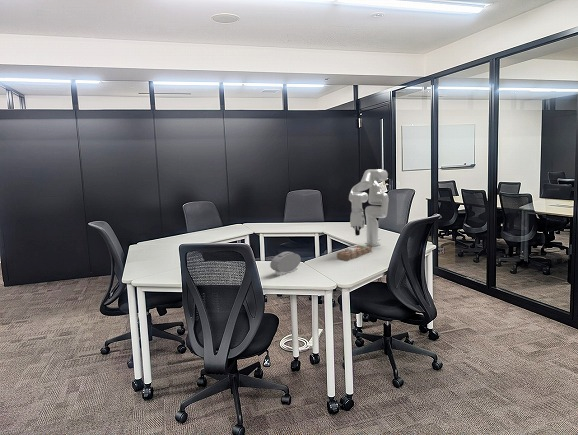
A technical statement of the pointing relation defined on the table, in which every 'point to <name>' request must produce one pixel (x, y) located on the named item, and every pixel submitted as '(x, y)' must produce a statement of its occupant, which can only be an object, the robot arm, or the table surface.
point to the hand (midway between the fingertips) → (357, 235)
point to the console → (353, 253)
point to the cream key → (351, 249)
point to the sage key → (362, 245)
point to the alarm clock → (285, 263)
